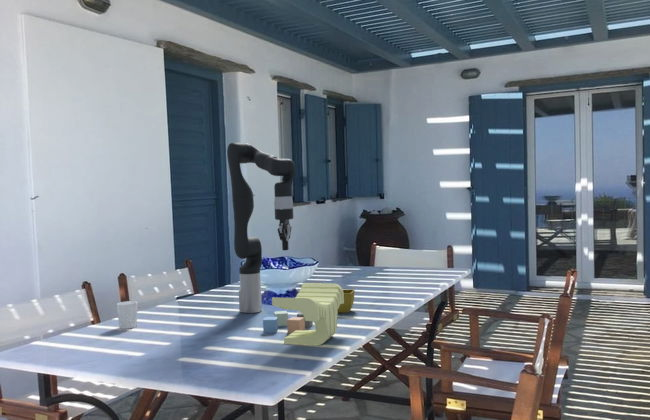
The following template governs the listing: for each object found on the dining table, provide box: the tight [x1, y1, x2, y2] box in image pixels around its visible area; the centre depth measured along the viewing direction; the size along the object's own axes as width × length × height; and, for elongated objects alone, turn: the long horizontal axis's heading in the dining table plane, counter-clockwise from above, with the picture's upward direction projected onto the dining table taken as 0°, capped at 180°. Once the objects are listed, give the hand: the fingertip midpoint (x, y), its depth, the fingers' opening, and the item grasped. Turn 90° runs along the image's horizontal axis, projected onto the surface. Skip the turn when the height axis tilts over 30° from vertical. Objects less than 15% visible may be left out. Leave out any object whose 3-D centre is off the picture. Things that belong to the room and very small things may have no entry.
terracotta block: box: [286, 316, 306, 334], centre depth 224 cm, size 5×5×5 cm
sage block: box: [273, 310, 289, 327], centre depth 237 cm, size 5×5×5 cm
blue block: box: [262, 316, 279, 334], centre depth 226 cm, size 5×5×5 cm
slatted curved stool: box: [271, 282, 344, 346], centre depth 211 cm, size 30×16×18 cm, turn 162°
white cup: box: [116, 300, 138, 330], centre depth 243 cm, size 8×8×10 cm
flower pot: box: [337, 288, 355, 314], centre depth 257 cm, size 9×9×9 cm
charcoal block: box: [296, 311, 314, 328], centre depth 234 cm, size 5×5×5 cm
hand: (285, 250), depth 243 cm, fingers closed
